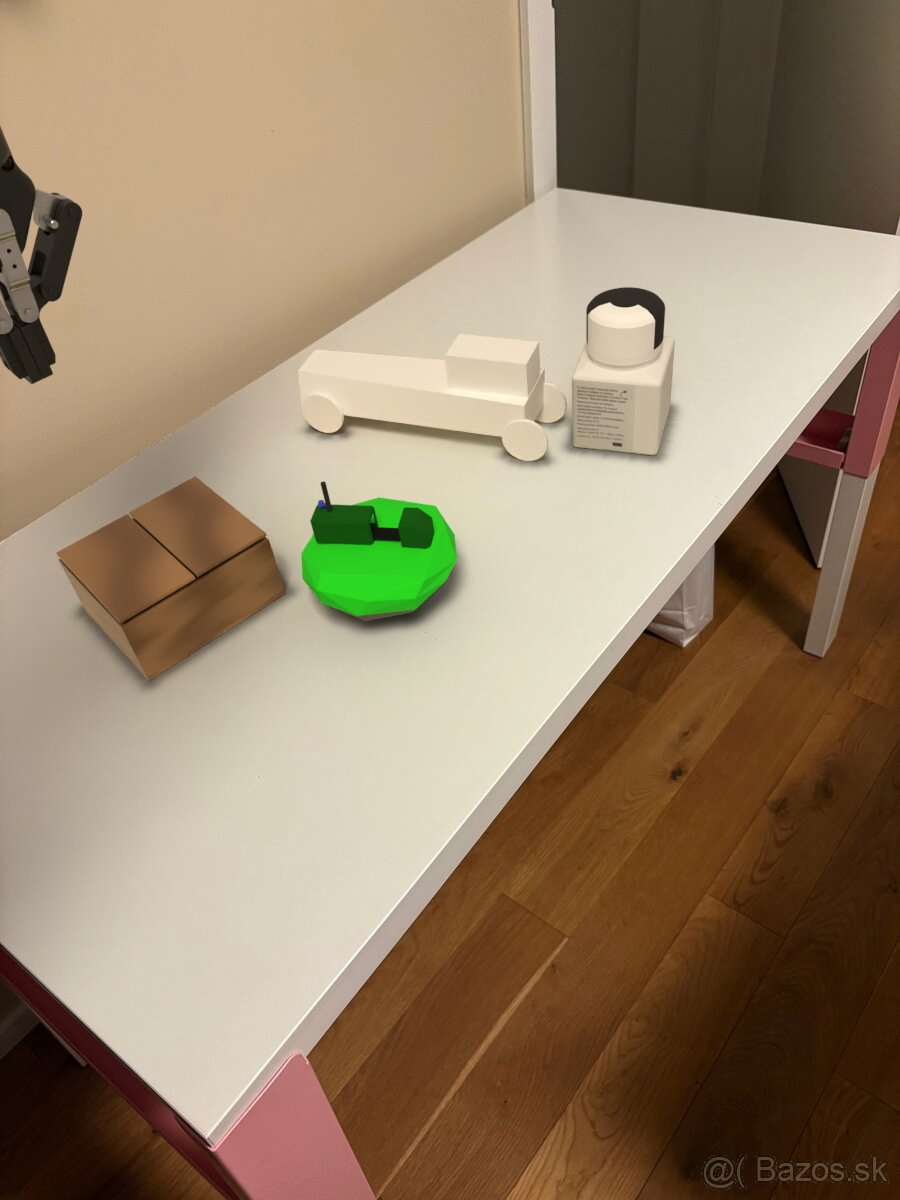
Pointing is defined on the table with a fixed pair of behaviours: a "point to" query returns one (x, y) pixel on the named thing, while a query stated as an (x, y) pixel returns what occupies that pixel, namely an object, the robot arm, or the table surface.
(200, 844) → the table surface
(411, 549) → the green domed toy
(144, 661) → the carton
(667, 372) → the container
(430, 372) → the toy truck
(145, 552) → the flap
